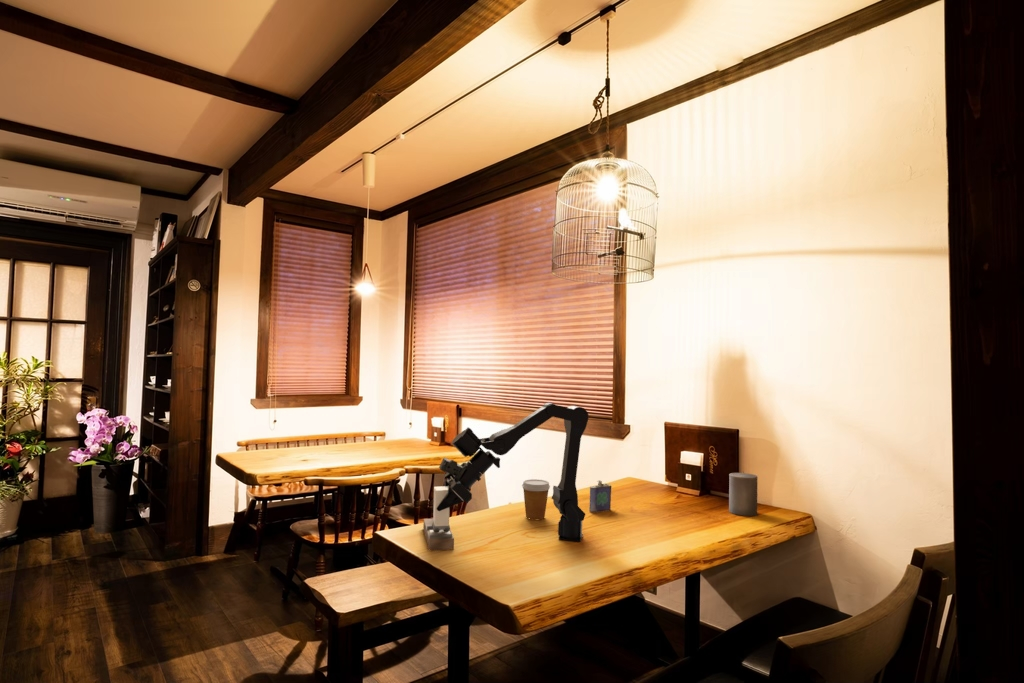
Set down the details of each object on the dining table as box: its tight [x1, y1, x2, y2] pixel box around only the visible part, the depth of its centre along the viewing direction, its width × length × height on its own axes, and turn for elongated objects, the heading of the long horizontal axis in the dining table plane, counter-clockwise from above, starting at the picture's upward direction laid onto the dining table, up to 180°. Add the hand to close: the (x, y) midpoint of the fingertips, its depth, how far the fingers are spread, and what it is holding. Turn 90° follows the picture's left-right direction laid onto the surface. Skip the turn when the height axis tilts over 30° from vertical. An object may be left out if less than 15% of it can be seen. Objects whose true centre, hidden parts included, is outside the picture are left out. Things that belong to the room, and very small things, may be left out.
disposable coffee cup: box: [521, 478, 551, 520], centre depth 194 cm, size 10×10×12 cm
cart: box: [432, 485, 451, 533], centre depth 164 cm, size 5×6×12 cm
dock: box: [423, 518, 455, 552], centre depth 169 cm, size 7×21×4 cm, turn 13°
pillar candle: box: [728, 471, 758, 517], centre depth 208 cm, size 10×10×15 cm
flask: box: [588, 480, 612, 514], centre depth 205 cm, size 9×3×11 cm, turn 121°
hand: (436, 507), depth 164 cm, fingers closed on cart, 5 cm apart
